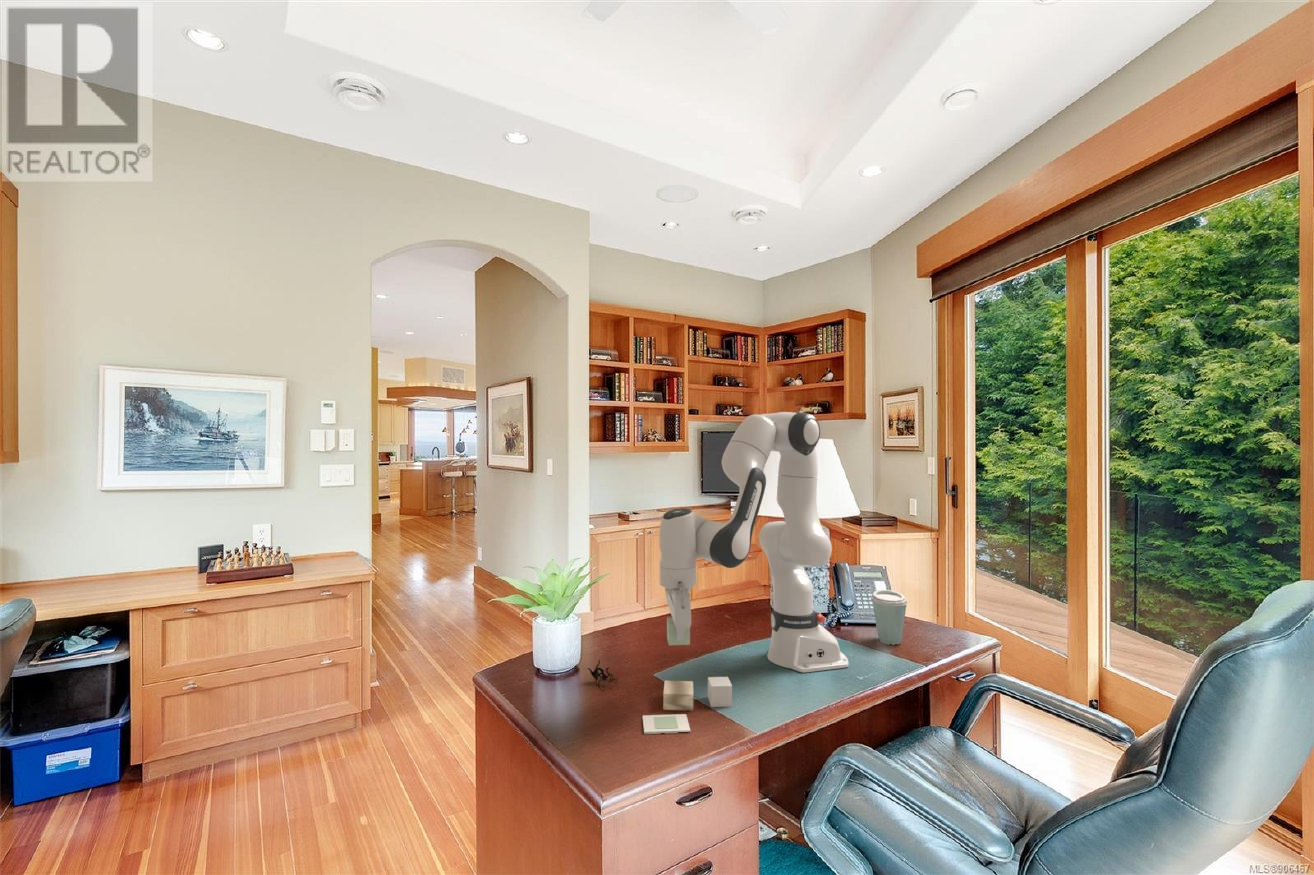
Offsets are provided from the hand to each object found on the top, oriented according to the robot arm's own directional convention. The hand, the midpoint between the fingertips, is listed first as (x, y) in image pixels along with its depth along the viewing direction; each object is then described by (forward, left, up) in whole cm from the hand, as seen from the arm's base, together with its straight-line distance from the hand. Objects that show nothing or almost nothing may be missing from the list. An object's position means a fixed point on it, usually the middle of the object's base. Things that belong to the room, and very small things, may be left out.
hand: (678, 634), depth 133 cm
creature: (+18, -11, -17) cm, 27 cm away
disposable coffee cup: (-71, -36, -17) cm, 81 cm away
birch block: (0, 0, -17) cm, 17 cm away
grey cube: (-10, 0, -17) cm, 19 cm away
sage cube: (0, 0, -2) cm, 2 cm away
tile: (+4, +10, -16) cm, 20 cm away
